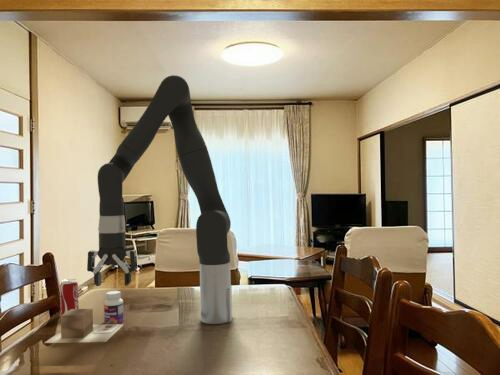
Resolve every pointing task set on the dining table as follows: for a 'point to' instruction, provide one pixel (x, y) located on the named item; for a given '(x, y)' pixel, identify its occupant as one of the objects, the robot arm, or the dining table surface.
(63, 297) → the soda can
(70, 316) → the walnut cube
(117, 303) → the pill bottle
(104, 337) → the board
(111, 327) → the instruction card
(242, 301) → the dining table surface
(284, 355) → the dining table surface
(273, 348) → the dining table surface
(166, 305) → the dining table surface
